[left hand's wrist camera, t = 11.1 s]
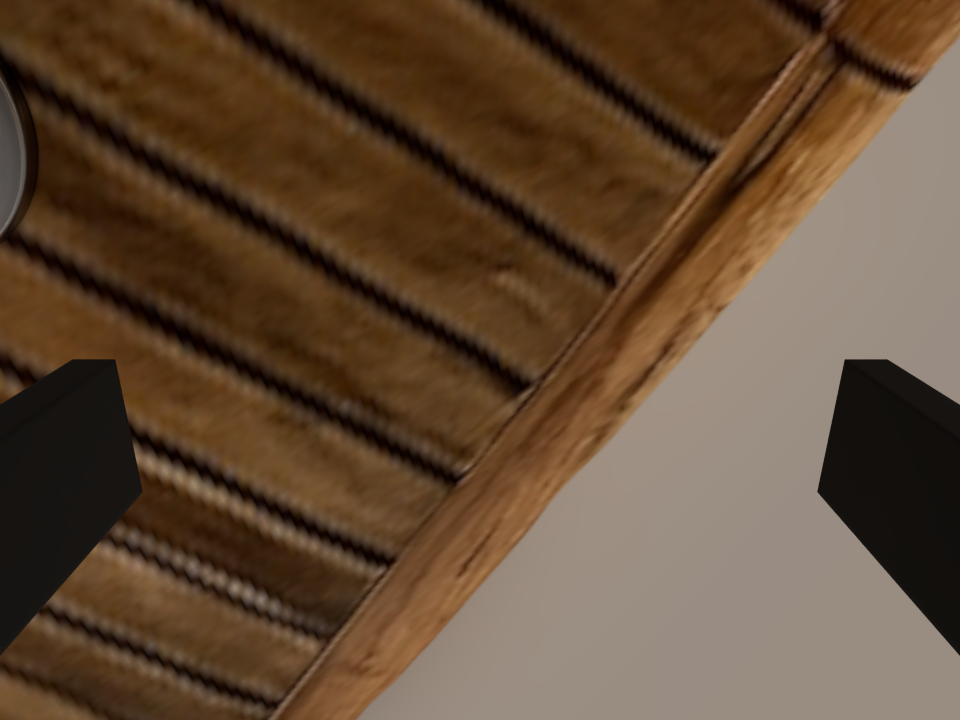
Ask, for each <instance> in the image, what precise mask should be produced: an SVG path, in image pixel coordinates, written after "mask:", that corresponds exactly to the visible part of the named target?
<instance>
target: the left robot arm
mask: <svg viewBox="0 0 960 720" xmlns="http://www.w3.org/2000/svg"><path fill="white" fill-rule="evenodd" d="M36 175H37V150H36V142H35V135H34V131H33V127H32V123H31V119H30V116H29V113H28V110H27V107H26V105H25V102H24V100H23V98H22V95H21V93H20V91H19V89H18V87H17V85H16V83H15V81H14V79H13V78H12V76H11V74H10V73H9V71H8V70H7V68H6V67H5V65H4V64H3V62H2V61H1V59H0V243H2V242H3V241H4V240H5V239H6V238H8V236H9V235H10V234H11V233H12V232H13V231H14V230H15V229H16V227H17V226H18V225H19V223H20V222H21V220H22V219H23V217H24V215H25V213H26V211H27V209H28V207H29V204H30V202H31V199H32V195H33V192H34V188H35V182H36ZM142 492H143V491H142V486H141V482H140V477H139V472H138V467H137V462H136V457H135V453H134V448H133V443H132V438H131V433H130V429H129V424H128V419H127V414H126V409H125V404H124V400H123V395H122V390H121V385H120V380H119V376H118V371H117V366H116V361H115V359H73V360H71V361H69V362H68V363H66V364H65V365H63V366H61V367H60V368H58V369H57V370H55V371H53V372H52V373H50V374H49V375H47V376H45V377H44V378H42V379H41V380H39V381H37V382H36V383H34V384H33V385H31V386H29V387H28V388H26V389H25V390H23V391H21V392H20V393H18V394H17V395H15V396H14V397H12V398H10V399H9V400H7V401H6V402H4V403H2V404H1V405H0V655H1V654H2V653H3V652H4V651H5V650H6V648H7V647H8V646H9V645H10V644H11V643H12V642H13V640H14V639H15V638H16V637H17V636H18V635H19V633H20V632H21V631H22V630H23V629H24V628H25V627H26V625H27V624H28V623H29V622H30V621H31V620H32V619H33V617H34V616H35V615H36V614H37V613H38V612H39V610H40V609H41V608H42V607H43V606H44V605H45V604H46V602H47V601H48V600H49V599H50V598H51V597H52V596H53V594H54V593H55V592H56V591H57V590H58V589H59V587H60V586H61V585H62V584H63V583H64V582H65V581H66V579H67V578H68V577H69V576H70V575H71V574H72V573H73V571H74V570H75V569H76V568H77V567H78V566H79V565H80V563H81V562H82V561H83V560H84V559H85V558H86V556H87V555H88V554H89V553H90V552H91V551H92V550H93V548H94V547H95V546H96V545H97V544H98V543H99V542H100V540H101V539H102V538H103V537H104V536H105V535H106V533H107V532H108V531H109V530H110V529H111V528H112V527H113V525H114V524H115V523H116V522H117V521H118V520H119V519H120V517H121V516H122V515H123V514H124V513H125V512H126V511H127V509H128V508H129V507H130V506H131V505H132V504H133V502H134V501H135V500H136V499H137V498H138V497H139V496H140V494H141V493H142ZM817 492H818V493H819V494H820V496H821V497H822V498H823V499H824V500H825V501H826V502H827V504H828V505H829V506H830V507H831V508H832V509H833V511H834V512H835V513H836V514H837V515H838V516H839V517H840V519H841V520H842V521H843V522H844V523H845V524H846V525H847V527H848V528H849V529H850V530H851V531H852V532H853V533H854V534H855V536H856V537H857V538H858V539H859V540H860V542H861V543H862V544H863V545H864V546H865V547H866V548H867V550H868V551H869V552H870V553H871V554H872V555H873V556H874V558H875V559H876V560H877V561H878V562H879V563H880V565H881V566H882V567H883V568H884V569H885V570H886V571H887V573H888V574H889V575H890V576H891V577H892V578H893V579H894V581H895V582H896V583H897V584H898V585H899V586H900V587H901V589H902V590H903V591H904V592H905V593H906V594H907V595H908V597H909V598H910V599H911V600H912V601H913V602H914V604H915V605H916V606H917V607H918V608H919V609H920V610H921V612H922V613H923V614H924V615H925V616H926V617H927V618H928V620H929V621H930V622H931V623H932V624H933V625H934V627H935V628H936V629H937V630H938V631H939V632H940V633H941V635H942V636H943V637H944V638H945V639H946V640H947V642H948V643H949V644H950V645H951V646H952V647H953V648H954V650H955V651H956V652H957V653H958V654H959V655H960V405H959V404H958V403H956V402H954V401H953V400H951V399H950V398H948V397H946V396H945V395H943V394H942V393H940V392H938V391H937V390H935V389H934V388H932V387H930V386H929V385H927V384H926V383H924V382H923V381H921V380H919V379H918V378H916V377H915V376H913V375H911V374H910V373H908V372H907V371H905V370H903V369H902V368H900V367H899V366H897V365H895V364H894V363H892V362H891V361H889V360H887V359H884V360H883V359H881V360H880V359H876V360H875V359H867V360H866V359H863V360H862V359H861V360H857V359H856V360H855V359H848V360H847V359H845V361H844V366H843V371H842V376H841V380H840V385H839V390H838V395H837V400H836V404H835V409H834V414H833V419H832V424H831V429H830V433H829V438H828V443H827V448H826V453H825V457H824V462H823V467H822V472H821V477H820V482H819V486H818V491H817Z"/></svg>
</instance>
